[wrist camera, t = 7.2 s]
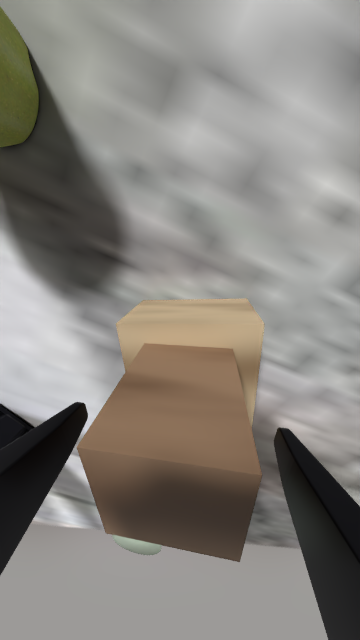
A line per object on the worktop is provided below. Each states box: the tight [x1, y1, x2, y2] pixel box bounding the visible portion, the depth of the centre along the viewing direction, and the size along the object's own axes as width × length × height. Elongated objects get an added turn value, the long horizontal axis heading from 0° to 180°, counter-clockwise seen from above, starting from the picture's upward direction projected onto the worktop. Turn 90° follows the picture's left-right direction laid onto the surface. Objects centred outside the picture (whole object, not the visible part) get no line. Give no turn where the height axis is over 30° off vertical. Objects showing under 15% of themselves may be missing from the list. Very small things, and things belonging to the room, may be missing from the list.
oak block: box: [116, 299, 265, 429], centre depth 14 cm, size 8×8×5 cm
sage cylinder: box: [112, 535, 162, 555], centre depth 21 cm, size 5×5×6 cm
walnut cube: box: [77, 343, 262, 562], centre depth 9 cm, size 5×5×6 cm
